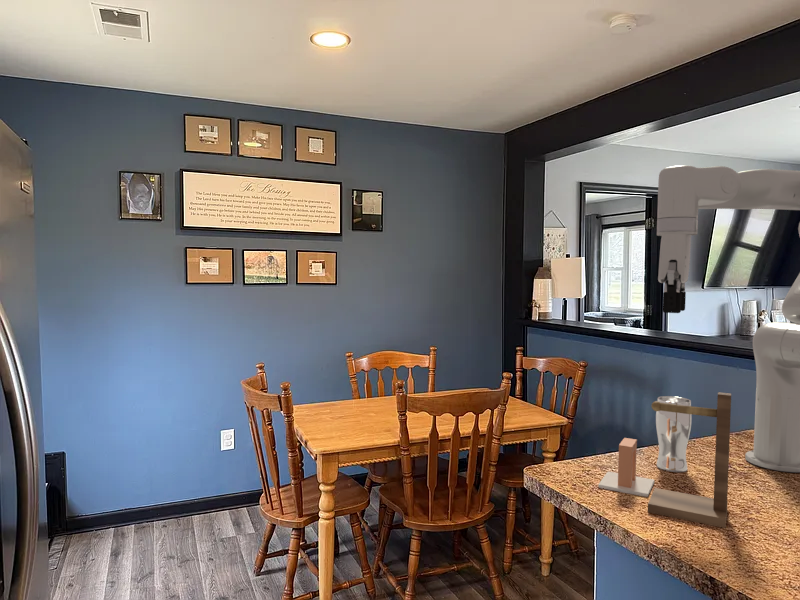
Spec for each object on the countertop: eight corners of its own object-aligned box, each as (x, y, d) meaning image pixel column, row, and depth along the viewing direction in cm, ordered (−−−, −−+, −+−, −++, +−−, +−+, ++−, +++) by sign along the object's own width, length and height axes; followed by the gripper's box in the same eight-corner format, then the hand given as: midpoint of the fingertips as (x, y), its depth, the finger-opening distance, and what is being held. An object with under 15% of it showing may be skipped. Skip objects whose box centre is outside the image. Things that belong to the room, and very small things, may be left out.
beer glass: (693, 474, 122) (696, 403, 122) (658, 471, 124) (660, 401, 123) (684, 463, 129) (686, 396, 128) (651, 461, 130) (653, 395, 130)
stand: (651, 495, 110) (655, 382, 109) (727, 509, 104) (731, 390, 103) (644, 511, 103) (648, 390, 102) (725, 528, 96) (730, 399, 95)
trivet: (607, 474, 122) (607, 471, 122) (654, 482, 117) (654, 479, 117) (598, 487, 114) (598, 484, 114) (647, 497, 109) (647, 493, 109)
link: (623, 476, 119) (624, 437, 118) (635, 478, 117) (636, 439, 117) (617, 485, 113) (618, 445, 113) (630, 487, 112) (632, 447, 112)
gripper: (662, 231, 128) (659, 308, 129) (651, 225, 113) (648, 313, 114) (700, 230, 124) (697, 310, 125) (694, 224, 109) (691, 314, 110)
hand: (674, 311), depth 120 cm, fingers open, 9 cm apart
